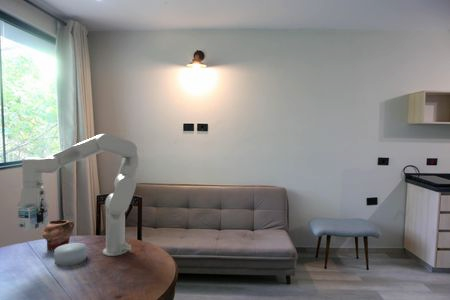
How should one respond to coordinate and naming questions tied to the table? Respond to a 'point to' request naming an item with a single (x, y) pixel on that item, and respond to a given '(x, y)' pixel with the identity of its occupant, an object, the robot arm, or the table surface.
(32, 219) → the light bulb box
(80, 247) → the smooth grey ovoid
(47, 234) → the orange-brown clay pot
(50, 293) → the table surface
